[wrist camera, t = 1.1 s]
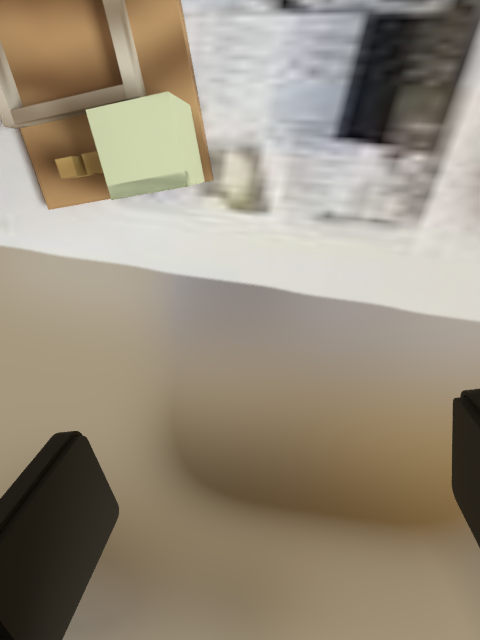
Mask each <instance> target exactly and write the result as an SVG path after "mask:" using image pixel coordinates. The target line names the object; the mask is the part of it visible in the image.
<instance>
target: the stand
mask: <svg viewBox="0 0 480 640" xmlns="http://www.w3.org/2000/svg"><path fill="white" fill-rule="evenodd" d="M167 91H168V92H170V93H171V94H173V95H175V96H176V97H178V98H180V99H181V100H183V101H184V102H186V103H188V104H189V105H190V107H191V112H192V117H193V122H194V128H195V133H196V138H197V143H198V148H199V154H200V159H201V164H202V169H203V175H204V180H205V182H207V181H212V180H213V175H212V169H211V164H210V158H209V153H208V147H207V142H206V136H205V131H204V125H203V120H202V114H201V109H200V104H199V98H198V93H197V87H196V82H195V76H194V71H193V65H192V60H191V54H190V49H189V43H188V38H187V32H186V27H185V21H184V16H183V10H182V5H181V0H0V116H1V119H2V122H3V125H4V127H12V128H20V130H21V133H22V136H23V139H24V142H25V144H26V147H27V150H28V153H29V156H30V159H31V161H32V164H33V167H34V170H35V173H36V175H37V178H38V181H39V184H40V187H41V190H42V192H43V195H44V198H45V201H46V204H47V207H48V209H49V210H50V209H55V208H61V207H67V206H72V205H78V204H83V203H89V202H95V201H100V200H106V199H111V197H110V193H109V190H108V187H107V183H106V180H105V176H104V173H103V169H102V166H101V162H100V159H99V155H98V152H97V148H96V145H95V141H94V138H93V134H92V131H91V127H90V124H89V120H88V117H87V113H86V110H87V109H92V108H96V107H100V106H105V105H109V104H114V103H118V102H123V101H127V100H132V99H136V98H141V97H145V96H150V95H154V94H159V93H163V92H167Z"/></svg>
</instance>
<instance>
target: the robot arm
mask: <svg viewBox="0 0 480 640" xmlns="http://www.w3.org/2000/svg"><path fill="white" fill-rule="evenodd" d="M452 439H453V440H452V489H453V493H454V496H455V499H456V501H457V503H458V505H459V507H460V509H461V511H462V513H463V515H464V517H465V519H466V521H467V523H468V525H469V527H470V529H471V531H472V533H473V535H474V537H475V539H476V541H477V543H478V545H479V547H480V389H475V390H465V391H463V392H462V393H461V397H460V398H454V400H453V435H452ZM118 515H119V506H118V503H117V501H116V499H115V497H114V495H113V493H112V490H111V489H110V486H109V484H108V482H107V480H106V478H105V475H104V473H103V471H102V469H101V467H100V465H99V463H98V461H97V458H96V456H95V454H94V452H93V450H92V448H91V445H90V443H89V441H88V439H87V438H86V437H85V436H83V435H82V434H81V433H80V432H78V431H71V432H61V433H56V434H54V435H53V436H52V437H51V438H50V440H49V441H48V442H47V443H46V444H45V446H44V447H43V448H42V449H41V451H40V452H39V453H38V454H37V455H36V457H35V458H34V459H33V460H32V461H31V463H30V464H29V465H28V466H27V467H26V469H25V470H24V471H23V472H22V473H21V475H20V476H19V477H18V478H17V480H16V481H15V482H14V483H13V484H12V486H11V487H10V488H9V489H8V490H7V492H6V493H5V494H4V495H3V496H2V498H1V499H0V640H62V639H63V637H64V635H65V632H66V630H67V628H68V626H69V624H70V621H71V619H72V617H73V615H74V613H75V611H76V608H77V606H78V604H79V602H80V600H81V597H82V595H83V593H84V591H85V589H86V586H87V584H88V582H89V580H90V578H91V576H92V573H93V571H94V569H95V567H96V565H97V562H98V560H99V558H100V556H101V554H102V552H103V549H104V547H105V545H106V543H107V541H108V539H109V536H110V534H111V532H112V530H113V528H114V525H115V523H116V521H117V519H118Z"/></svg>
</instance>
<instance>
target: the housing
mask: <svg viewBox="0 0 480 640" xmlns="http://www.w3.org/2000/svg"><path fill="white" fill-rule="evenodd" d="M86 113H87V117H88V120H89V124H90V127H91V131H92V134H93V138H94V141H95V145H96V148H97V152H98V155H99V159H100V162H101V166H102V169H103V173H104V176H105V180H106V183H107V187H108V190H109V193H110V197H111V200H114V199H119V198H125V197H131V196H136V195H142V194H147V193H153V192H159V191H164V190H170V189H175V188H181V187H187V186H191V185H195V184H199V183H202V182H205V180H204V175H203V169H202V164H201V159H200V154H199V148H198V143H197V138H196V133H195V128H194V122H193V117H192V112H191V107H190V105H189V104H188V103H186V102H184V101H183V100H181V99H180V98H178V97H176V96H175V95H173V94H171V93H170V92H168V91H167V92H163V93H159V94H154V95H150V96H145V97H141V98H136V99H132V100H127V101H123V102H118V103H114V104H109V105H105V106H100V107H96V108H92V109H87V110H86Z"/></svg>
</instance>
